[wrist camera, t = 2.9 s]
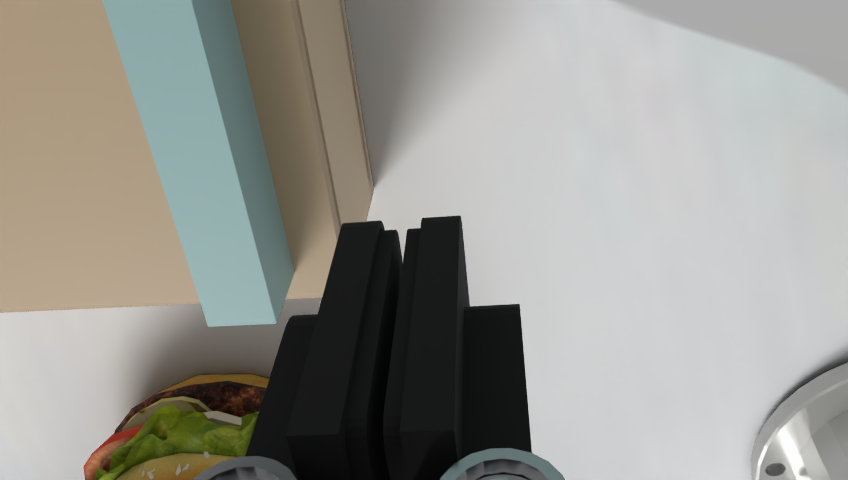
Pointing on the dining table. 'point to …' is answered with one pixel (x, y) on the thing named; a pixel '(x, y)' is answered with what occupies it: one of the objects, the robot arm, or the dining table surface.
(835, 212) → the dining table surface
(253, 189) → the lid
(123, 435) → the food
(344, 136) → the box
